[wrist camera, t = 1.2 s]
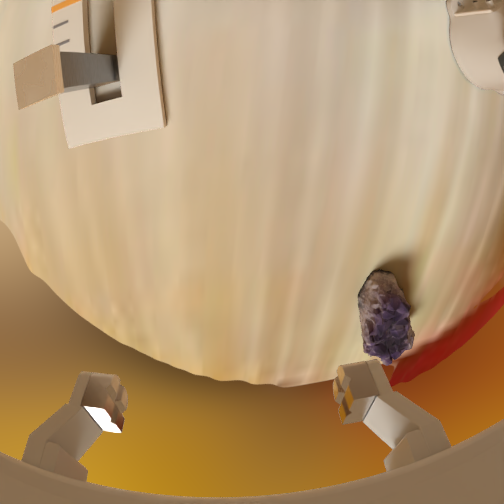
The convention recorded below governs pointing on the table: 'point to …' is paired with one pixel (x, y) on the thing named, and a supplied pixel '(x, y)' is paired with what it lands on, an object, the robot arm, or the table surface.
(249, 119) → the table surface
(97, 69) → the fader tab
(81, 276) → the table surface
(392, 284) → the geode
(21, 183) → the table surface
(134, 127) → the console
